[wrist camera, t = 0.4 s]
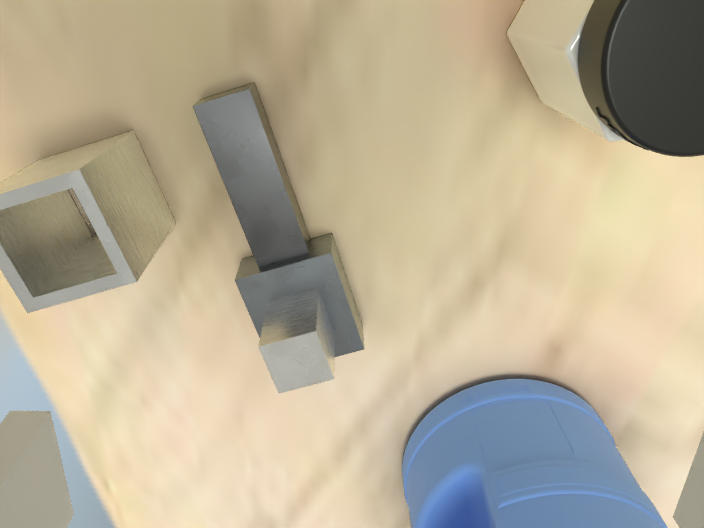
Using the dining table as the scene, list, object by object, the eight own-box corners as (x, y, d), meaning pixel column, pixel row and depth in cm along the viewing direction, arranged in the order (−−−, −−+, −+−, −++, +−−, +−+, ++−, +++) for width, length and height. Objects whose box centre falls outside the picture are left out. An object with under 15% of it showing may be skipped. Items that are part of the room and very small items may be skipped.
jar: (502, 109, 34) (579, 167, 23) (509, -51, 31) (604, -69, 20) (657, 98, 34) (807, 152, 23) (682, -63, 31) (872, -88, 20)
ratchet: (178, 106, 34) (135, 140, 26) (278, 74, 33) (262, 100, 26) (278, 347, 41) (266, 425, 33) (362, 324, 40) (368, 399, 33)
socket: (39, 159, 35) (-39, 205, 27) (133, 130, 34) (79, 169, 27) (87, 249, 37) (27, 313, 30) (175, 222, 37) (136, 281, 29)
